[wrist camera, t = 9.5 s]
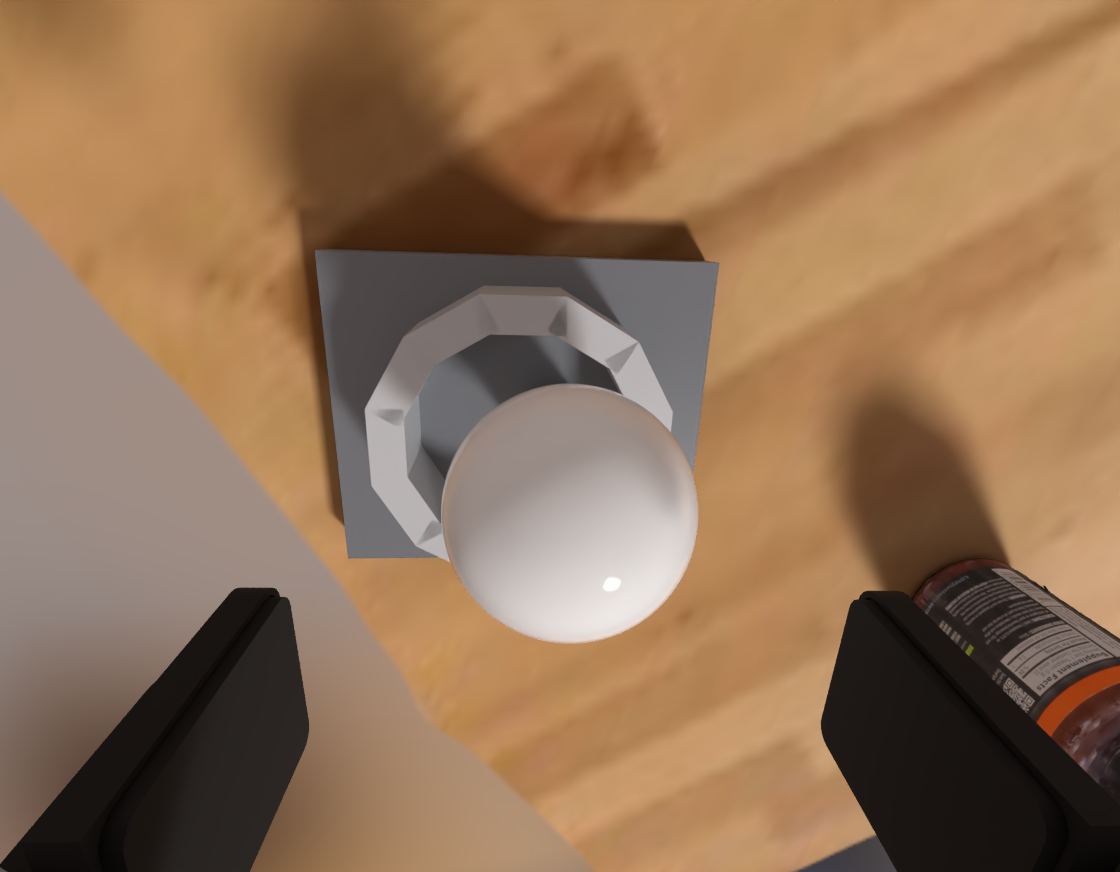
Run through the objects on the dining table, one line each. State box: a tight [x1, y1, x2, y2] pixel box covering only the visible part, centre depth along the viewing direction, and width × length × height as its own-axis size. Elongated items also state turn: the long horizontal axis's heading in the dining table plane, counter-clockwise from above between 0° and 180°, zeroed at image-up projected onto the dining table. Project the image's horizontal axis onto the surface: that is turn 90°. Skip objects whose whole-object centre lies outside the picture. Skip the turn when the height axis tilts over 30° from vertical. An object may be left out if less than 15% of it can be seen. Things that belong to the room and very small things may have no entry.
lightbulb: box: [441, 383, 699, 644], centre depth 16 cm, size 6×6×11 cm
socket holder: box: [315, 249, 719, 563], centre depth 21 cm, size 14×12×4 cm
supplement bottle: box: [913, 559, 1120, 805], centre depth 23 cm, size 6×6×11 cm
